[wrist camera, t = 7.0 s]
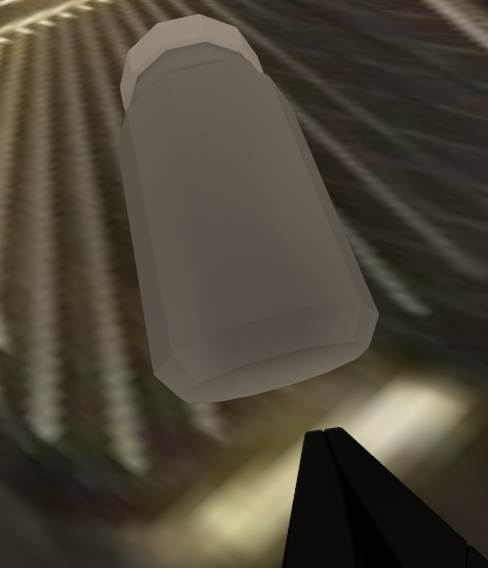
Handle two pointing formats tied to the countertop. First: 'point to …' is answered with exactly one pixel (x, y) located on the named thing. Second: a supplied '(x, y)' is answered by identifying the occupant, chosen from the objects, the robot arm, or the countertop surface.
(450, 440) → the countertop surface
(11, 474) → the countertop surface
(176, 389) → the jar
